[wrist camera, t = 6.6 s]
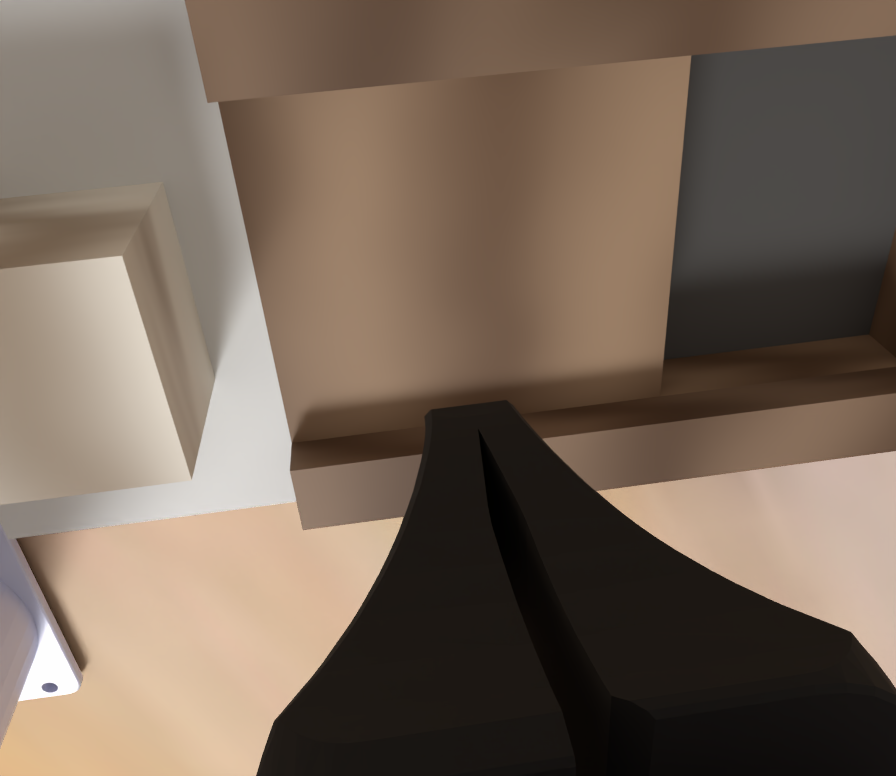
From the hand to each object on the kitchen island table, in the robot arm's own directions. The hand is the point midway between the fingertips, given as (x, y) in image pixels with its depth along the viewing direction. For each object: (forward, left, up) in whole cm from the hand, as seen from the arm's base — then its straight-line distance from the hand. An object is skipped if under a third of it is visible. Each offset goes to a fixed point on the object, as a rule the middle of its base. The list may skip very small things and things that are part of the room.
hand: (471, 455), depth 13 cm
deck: (+1, 0, -9) cm, 9 cm away
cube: (-8, 0, -7) cm, 11 cm away
